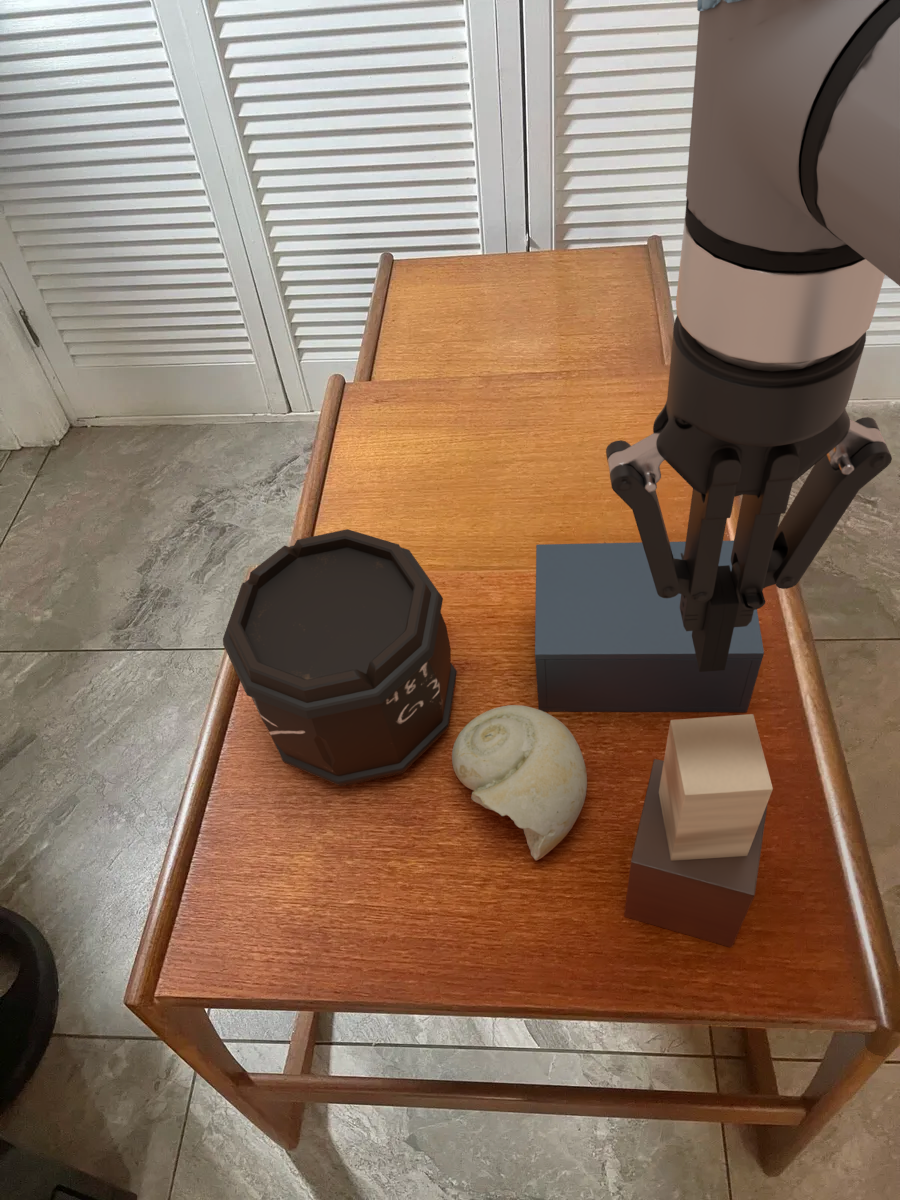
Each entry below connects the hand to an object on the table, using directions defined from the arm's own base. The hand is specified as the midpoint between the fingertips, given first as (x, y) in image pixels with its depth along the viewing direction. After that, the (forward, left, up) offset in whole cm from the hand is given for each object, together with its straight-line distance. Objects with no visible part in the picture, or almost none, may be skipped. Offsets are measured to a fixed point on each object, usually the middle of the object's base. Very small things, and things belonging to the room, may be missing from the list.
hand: (707, 652), depth 55 cm
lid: (+14, +6, -15) cm, 22 cm away
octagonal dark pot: (+3, +29, -24) cm, 38 cm away
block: (-5, -2, -13) cm, 14 cm away
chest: (+14, +6, -24) cm, 28 cm away
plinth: (-5, -2, -24) cm, 24 cm away
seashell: (-1, +12, -24) cm, 27 cm away
